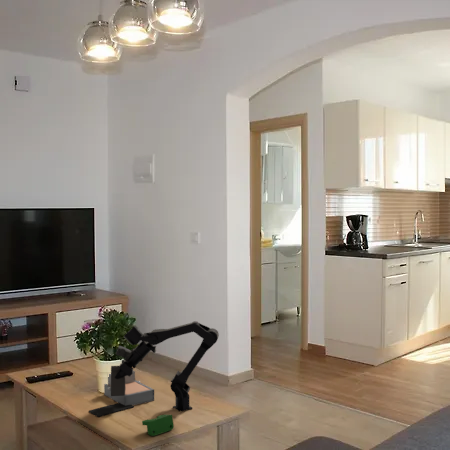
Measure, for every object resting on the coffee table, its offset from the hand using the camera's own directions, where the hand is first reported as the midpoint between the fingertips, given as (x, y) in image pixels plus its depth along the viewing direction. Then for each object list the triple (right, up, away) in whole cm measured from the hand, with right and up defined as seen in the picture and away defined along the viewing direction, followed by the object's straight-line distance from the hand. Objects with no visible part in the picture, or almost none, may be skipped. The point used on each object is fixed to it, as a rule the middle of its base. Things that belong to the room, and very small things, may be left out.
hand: (115, 378), depth 251 cm
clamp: (+22, -14, -26) cm, 37 cm away
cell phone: (-1, -14, -2) cm, 14 cm away
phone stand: (+1, -7, 0) cm, 7 cm away
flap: (+4, -12, +14) cm, 19 cm away
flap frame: (+4, -13, +14) cm, 20 cm away
